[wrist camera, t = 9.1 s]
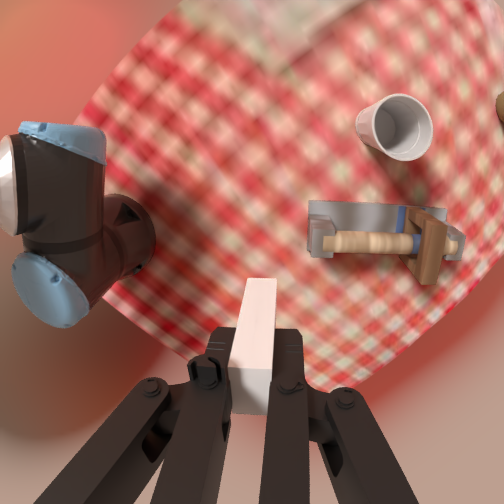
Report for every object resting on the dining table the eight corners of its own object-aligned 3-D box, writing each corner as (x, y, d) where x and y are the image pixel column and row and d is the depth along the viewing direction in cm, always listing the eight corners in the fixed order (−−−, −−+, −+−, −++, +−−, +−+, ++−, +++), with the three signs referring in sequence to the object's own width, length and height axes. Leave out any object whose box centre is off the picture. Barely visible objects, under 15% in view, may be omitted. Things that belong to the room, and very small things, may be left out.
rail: (306, 248, 49) (310, 272, 41) (308, 200, 46) (313, 215, 38) (437, 252, 47) (459, 273, 39) (445, 208, 44) (470, 224, 36)
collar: (398, 256, 46) (421, 284, 37) (405, 206, 43) (432, 225, 34) (411, 257, 46) (435, 284, 37) (419, 207, 43) (448, 226, 34)
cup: (407, 139, 40) (442, 145, 29) (365, 160, 43) (390, 172, 32) (383, 93, 38) (414, 84, 27) (340, 114, 40) (359, 109, 29)
